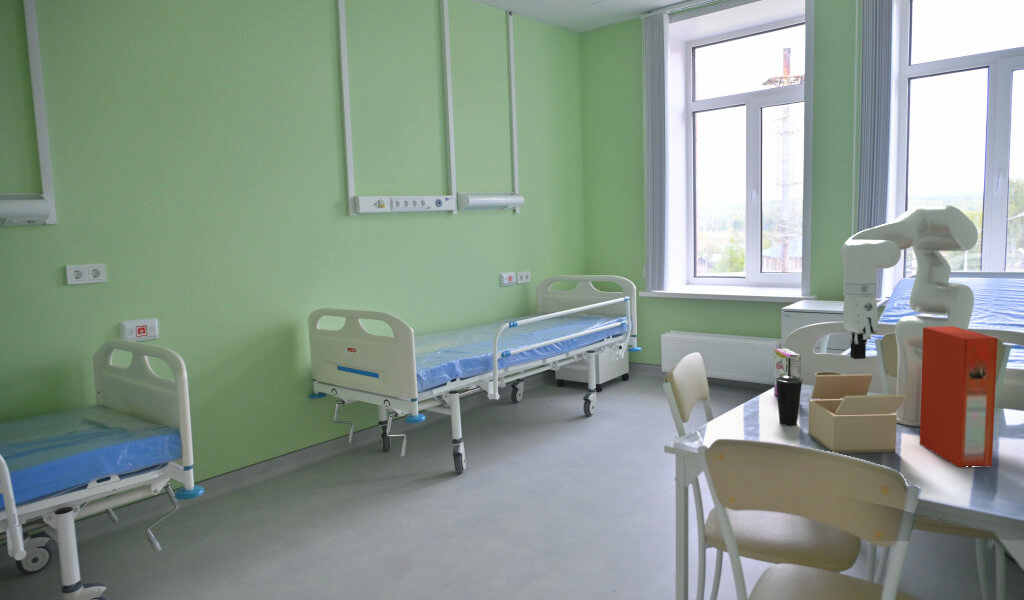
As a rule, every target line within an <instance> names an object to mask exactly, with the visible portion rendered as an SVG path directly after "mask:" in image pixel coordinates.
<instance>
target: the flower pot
mask: <svg viewBox="0 0 1024 600" xmlns="http://www.w3.org/2000/svg"><path fill="white" fill-rule="evenodd" d="M817 375H845V373H841V372H838V371H837V372H836V371H835V372H833V371H817V372H815V374H814V376H817ZM825 399H841V398H825ZM820 400H824V399H820Z"/></svg>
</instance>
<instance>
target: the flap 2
mask: <svg viewBox="0 0 1024 600" xmlns="http://www.w3.org/2000/svg"><path fill="white" fill-rule="evenodd" d="M906 397H907V396H906V394H905V395H897V394H870V395H868V394H867V395H858V396H845V397H844V398H842V399H843V400H842V402H841V403H840V405H839V407H838V408H837V410H836V412H835V414H886V413H895V412H896V411H897V409H898V408H899V406H900V405H901V404H902V402H903V401H904V400H905V398H906Z"/></svg>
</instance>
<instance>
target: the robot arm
mask: <svg viewBox="0 0 1024 600" xmlns="http://www.w3.org/2000/svg"><path fill="white" fill-rule="evenodd" d="M978 238H979V233H978V229H977V227H976V225H975V224H974V222H973V221H972V220H971V219H970V218H969V217H968V216H967V215H966V214H965V213H964V212H963V211H962V210H960V208H958V207H956V206H952V205H946V204H945V205H919V206H915V207H912V208H909V209H908V210H907V211H905V212H904V213H902V214H901V215H899V217H897V218H895V219H894V220H893V221H891V222H888V223H884V224H881V225H878V226H874V227H871V228H867V229H864V230H862V231H859V232H857V233H856V234H854V235H852V236H851V237H849V238H848V239H847V240H846V241H845V242H844V244H842V247H841V249H840V260H841V262H842V264H843V292H842V293H843V296H844V299H843V309H842V310H843V311H842V327H843V328H844V329H845V330H846V333H847V334H848V335H849V342H850V358H851V359H854V360H864V359H866V358H867V357H866V352H867V344H868V340H871V339H872V335H871V334H873V335H874V334H875V335H876V334H877V333H878V331H879V330H878V329H879V324H878V323H879V322H878V321H879V316H878V304H877V298H876V292H877V290H876V289H877V269H890V268H893V267H894V266H896V265H897V264H898V263H899V261H900V259H901V258H902V252H901V251H904V250H906V249H910V248H912V249H913V252H914V255H915V258H916V263H917V270H916V274H915V277H914V281H913V284H912V287H911V288H912V289H911V292H910V296H909V307H910V308H911V310H912V311H914V312H916V313H918V314H925V315H935V316H945V317H946V316H947V317H946V318H943V317H934V316H924V315H906V316H903V317H901V318H900V319H899V320H897V322H896V324H895V327H894V334H895V341H896V347H897V348H896V349H897V373H896V395H905V394H906V396H907V397H906V398H905V400H904V401H903V402H902V404H901V405H900V406H899V408H898V409H897V411H896V412H895V413H894V414H896V415H897V423H896V424H900V425H905V426H912V427H919V426H920V415H921V382H922V350H923V328H925V327H947V326H954V327H957V328H961V329H965V330H968V329H969V326H970V322H971V318H972V314H973V310H974V304H975V296H974V292H973V290H972V288H971V287H970V286H968V285H966V284H962V283H954V282H953V283H951V282H949V281H950V278H951V272H952V269H951V265H950V264H949V261H947V259H946V258H945V257H944V256H943V254H942V253H941V251H942V252H966V251H967V252H968V251H970V250H971V249H973V248H974V247H975V246H976V244H977V242H978Z"/></svg>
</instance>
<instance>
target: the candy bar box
mask: <svg viewBox="0 0 1024 600" xmlns="http://www.w3.org/2000/svg"><path fill="white" fill-rule="evenodd" d="M773 354H774V355H773V356H774V357H773V358H774V361H773V362H774V363H773V364H774V366H773V367H774V372H773V373H774V377H773V379H774V380H773V381H774V382H773V383H774V384H773V387H774V389H773V395H774V396H776V397H777V398H778V396H777V384H776V380H775V378H776V377H779V376H782V375H788V358H791V368H790V375H794V376H797V377H799V378H801V357H802V356H801V354H799V353H797V352H795V351H793V350H791V349H789V348H774V352H773ZM800 403H801V401H800V402H799V404H800Z"/></svg>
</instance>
